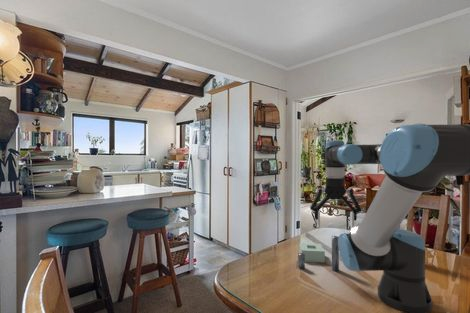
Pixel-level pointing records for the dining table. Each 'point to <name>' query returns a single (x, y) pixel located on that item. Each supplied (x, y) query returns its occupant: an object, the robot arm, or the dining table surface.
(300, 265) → the short pin
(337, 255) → the long pin
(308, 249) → the hole block
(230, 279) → the dining table surface
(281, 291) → the dining table surface
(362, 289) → the dining table surface
